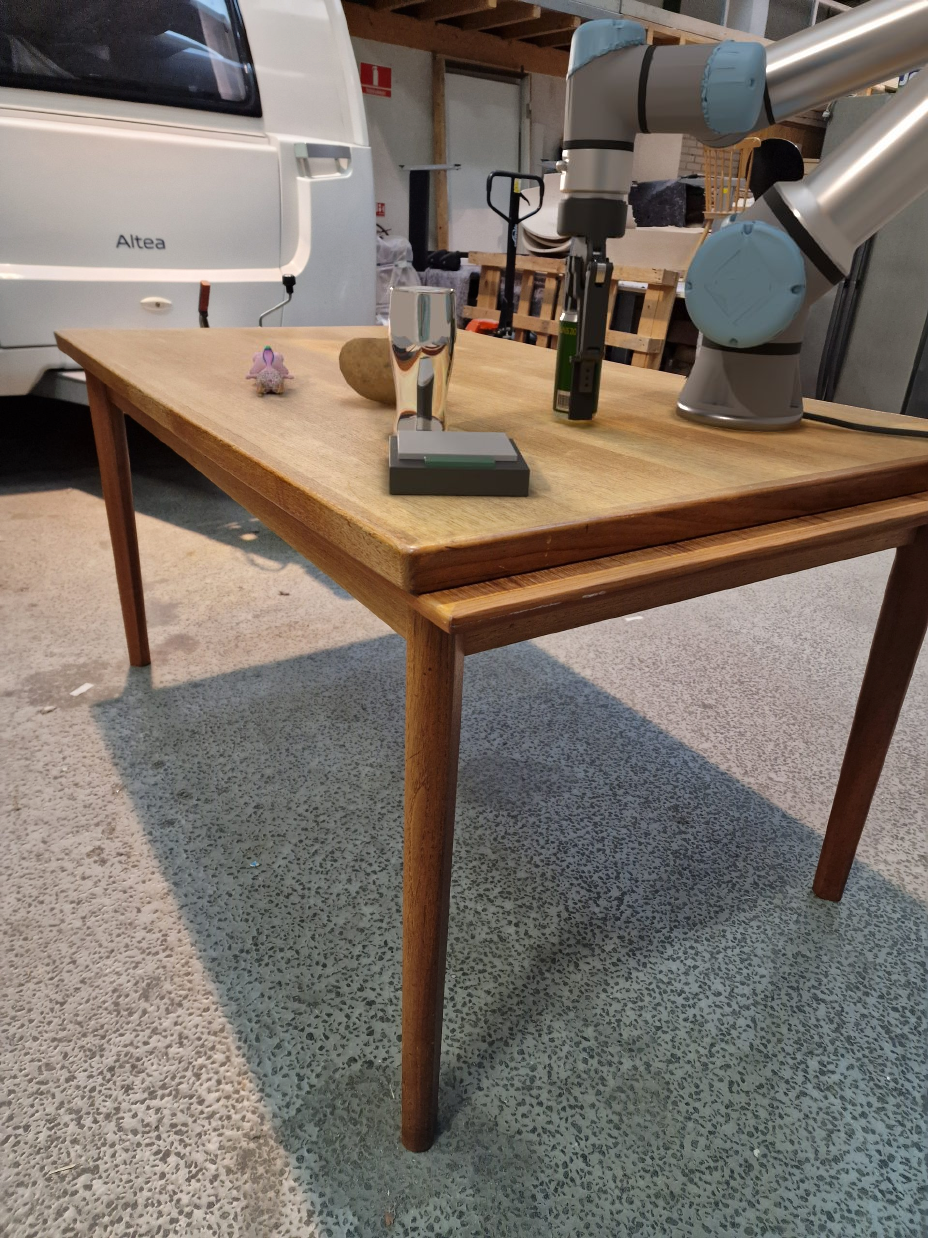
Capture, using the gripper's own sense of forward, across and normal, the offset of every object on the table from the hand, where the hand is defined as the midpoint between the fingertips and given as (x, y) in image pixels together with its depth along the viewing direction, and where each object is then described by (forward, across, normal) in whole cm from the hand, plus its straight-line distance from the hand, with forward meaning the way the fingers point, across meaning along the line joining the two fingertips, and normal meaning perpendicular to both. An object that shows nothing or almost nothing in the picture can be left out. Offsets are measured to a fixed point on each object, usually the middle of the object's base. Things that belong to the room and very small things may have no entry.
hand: (574, 413), depth 99 cm
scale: (+1, +25, -16) cm, 30 cm away
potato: (+1, -8, -21) cm, 23 cm away
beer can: (+1, 0, 0) cm, 1 cm away
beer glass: (+1, +10, -19) cm, 21 cm away
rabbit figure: (+1, -17, -38) cm, 42 cm away
